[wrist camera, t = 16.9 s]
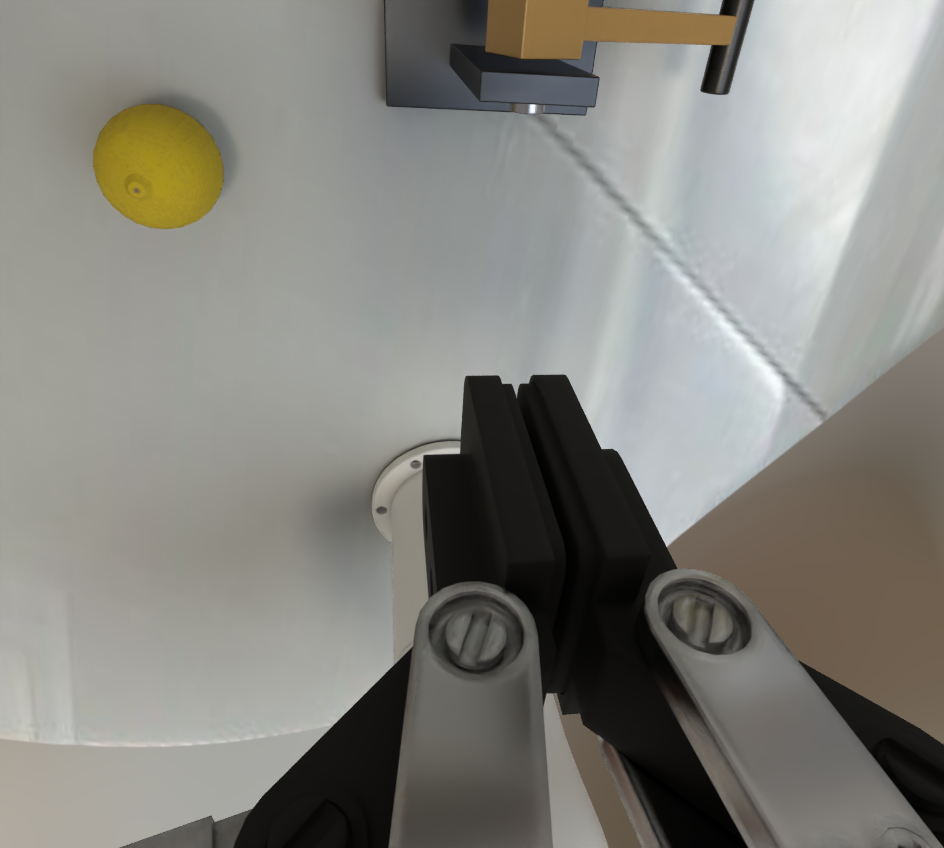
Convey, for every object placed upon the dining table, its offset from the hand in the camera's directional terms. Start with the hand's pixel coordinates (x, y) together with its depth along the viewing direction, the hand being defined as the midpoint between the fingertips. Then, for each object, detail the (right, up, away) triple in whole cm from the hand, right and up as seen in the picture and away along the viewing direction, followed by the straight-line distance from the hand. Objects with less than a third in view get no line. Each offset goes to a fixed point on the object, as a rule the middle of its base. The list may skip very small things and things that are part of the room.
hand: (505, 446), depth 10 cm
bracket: (0, +22, +20) cm, 30 cm away
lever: (+6, +17, +15) cm, 23 cm away
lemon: (-16, +16, +23) cm, 32 cm away
